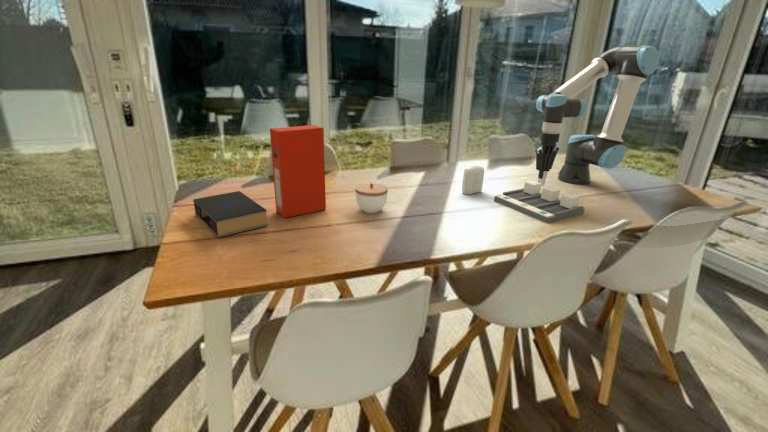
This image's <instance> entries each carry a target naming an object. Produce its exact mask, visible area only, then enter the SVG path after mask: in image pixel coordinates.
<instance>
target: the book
mask: <svg viewBox="0 0 768 432" xmlns="http://www.w3.org/2000/svg"><path fill="white" fill-rule="evenodd" d="M193 207H194V212H195V213H194V215H195V216H196V217H197V218H198V219H200V221H202V223H203V224H204V225H205V226H206V227H207V228H208V229H209V230H210V231H211V232H212V233H213V234H214V235H215V236H216V237H217V238H222V237H225V236H229V235H233V234H238V233H241V232H245V231H251V230H255V229H259V228H263V227H266V226H269V224H268V220H267V218H268V217H267V209H266V208H265V207H263V206H262V205H260V204H258V203H257V202H256V201H255V200H253V199H252V198H250V197H249V196H247V195H246V194H245V193H243V192H242V191H240V190H237V191H231V192H227V193H220V194H216V195H215V194H214V195H211V196H205V197H199V198H193Z"/></svg>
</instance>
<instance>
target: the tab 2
mask: <svg viewBox="0 0 768 432" xmlns="http://www.w3.org/2000/svg"><path fill="white" fill-rule="evenodd" d="M560 200H561V201H560V205H561V206H563V207H566V208H569V209H572V208H576V207H580V206H579V205H580V200H581V196H580V195H577V194H574V193H571V192H568V193H563V194H561V196H560Z"/></svg>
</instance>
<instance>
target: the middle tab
mask: <svg viewBox="0 0 768 432" xmlns="http://www.w3.org/2000/svg"><path fill="white" fill-rule="evenodd" d="M560 194H561V189H559V188H556V187H554V186H547V187H545V186H544V187H541V198H542V199H544V200H547V201H550V202H551V201H556V200H560V199H559V198H560Z"/></svg>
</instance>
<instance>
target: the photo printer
mask: <svg viewBox="0 0 768 432" xmlns="http://www.w3.org/2000/svg"><path fill="white" fill-rule="evenodd" d="M484 175H485V168H484V167H483V166H481V165H471V166H468V167H467V168H465V169H464V170H463V179H462V185H461V186H462V187H461V192H462V194H463V195H471V194H476V193H481V192H482V191H483V184H484Z"/></svg>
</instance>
